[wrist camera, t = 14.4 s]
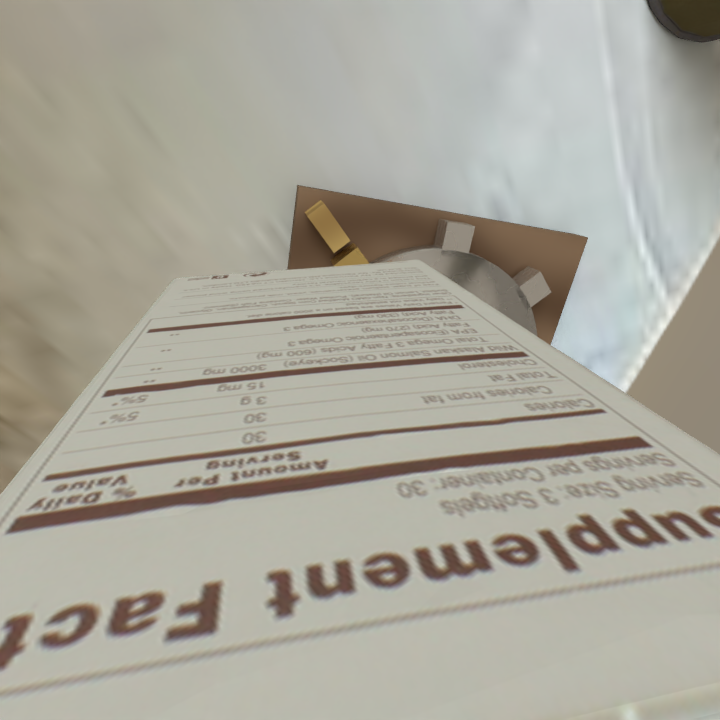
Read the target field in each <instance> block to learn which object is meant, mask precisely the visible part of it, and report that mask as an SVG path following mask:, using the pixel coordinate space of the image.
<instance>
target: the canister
mask: <svg viewBox="0 0 720 720" xmlns="http://www.w3.org/2000/svg"><path fill="white" fill-rule="evenodd" d="M648 1H649V4H650V7H651V9H652V11H653V12H654V14H655V15H656V17H657V18H658V20H659V21H660V22H661V24H663V25H664V26H665V27H666V28H668V29H669V30H670V31H671V32H672V33H674V34H675V35H676V36H677V37H679V38H682V39H686V40H691V41H697V42H707V41H713V40H717V39H720V0H648Z"/></svg>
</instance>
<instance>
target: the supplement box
mask: <svg viewBox="0 0 720 720" xmlns="http://www.w3.org/2000/svg"><path fill="white" fill-rule="evenodd" d="M0 720H720V454H718V453H716V452H715V451H714V450H712V449H711V448H709V447H708V446H706V445H704V444H703V443H701V442H699V441H698V440H696V439H695V438H693V437H691V436H690V435H688V434H687V433H685V432H684V431H682V430H681V429H679V428H678V427H676V426H675V425H673V424H672V423H670V422H669V421H667V420H666V419H664V418H662V417H661V416H659V415H658V414H656V413H655V412H653V411H652V410H650V409H648V408H647V407H646V406H644V405H643V404H641V403H639V402H638V401H636V400H635V399H633V398H632V397H630V396H629V395H627V394H626V393H624V392H623V391H621V390H620V389H618V388H617V387H615V386H614V385H612V384H610V383H609V382H607V381H606V380H604V379H603V378H601V377H599V376H598V375H596V374H595V373H593V372H592V371H590V370H589V369H587V368H586V367H584V366H582V365H581V364H579V363H578V362H576V361H575V360H573V359H572V358H570V357H569V356H567V355H565V354H564V353H562V352H561V351H559V350H557V349H556V348H554V347H552V346H551V345H549V344H548V343H546V342H545V341H543V340H542V339H540V338H539V337H537V336H536V335H534V334H533V333H531V332H530V331H528V330H527V329H525V328H523V327H522V326H520V325H519V324H517V323H516V322H514V321H513V320H511V319H510V318H508V317H507V316H505V315H504V314H502V313H501V312H499V311H498V310H496V309H495V308H493V307H491V306H490V305H488V304H487V303H485V302H483V301H482V300H481V299H479V298H478V297H477V296H475V295H474V294H472V293H470V292H468V291H467V290H465V289H464V288H462V287H461V286H459V285H458V284H456V283H455V282H453V281H452V280H451V279H449V278H447V277H446V276H444V275H443V274H441V273H440V272H438V271H437V270H435V269H433V268H432V267H430V266H429V265H427V264H426V263H424V262H422V261H420V260H408V261H398V262H385V263H373V264H360V265H347V266H333V267H320V268H306V269H293V270H279V271H264V272H249V273H238V274H224V275H212V276H196V277H183V278H175V279H174V280H173V281H172V282H171V283H170V284H169V285H168V287H167V288H166V289H165V290H164V292H163V293H162V294H161V295H160V297H159V298H158V299H157V300H156V301H155V303H154V304H153V305H152V306H151V307H150V309H149V310H148V311H147V313H146V314H145V315H144V316H143V318H142V319H141V320H140V321H139V323H138V324H137V325H136V326H135V327H134V329H133V330H132V331H131V333H130V334H129V335H128V336H127V337H126V338H125V339H124V341H123V342H122V343H121V345H120V346H119V347H118V348H117V350H116V351H115V352H114V353H113V355H112V356H111V357H110V359H109V360H108V361H107V362H106V364H105V365H104V366H103V368H102V369H101V370H100V371H99V372H98V373H97V375H96V376H95V377H94V379H93V380H92V381H91V382H90V384H89V385H88V386H87V387H86V389H85V390H84V391H83V392H82V393H81V395H80V396H79V397H78V398H77V399H76V401H75V402H74V403H73V405H72V406H71V407H70V409H69V410H68V411H67V413H66V414H65V415H64V416H63V417H62V418H61V420H60V421H59V422H58V423H57V425H56V426H55V428H54V429H53V430H52V431H51V433H50V434H49V435H48V436H47V438H46V439H45V440H44V441H43V443H42V444H41V445H40V446H39V448H38V449H37V450H36V451H35V452H34V454H33V455H32V456H31V457H30V459H29V460H28V461H27V462H26V464H25V465H24V466H23V467H22V469H21V470H20V471H19V472H18V474H17V475H16V476H15V477H14V479H13V480H12V481H11V482H10V484H9V485H8V486H7V487H6V489H5V490H4V491H3V492H2V494H1V495H0Z"/></svg>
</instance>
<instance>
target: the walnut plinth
mask: <svg viewBox="0 0 720 720" xmlns="http://www.w3.org/2000/svg"><path fill="white" fill-rule="evenodd" d="M439 219H444V220H450V221H457V222H463V223H467V224H470V225H473V226H475V229H474V233H473V238H472V242H471V246H470V250H469V252H470V253H473V254H475V255H477V256H479V257H481V258H483V259H485V260H487V261H489V262H491V263H493V264H494V265H496V266H498V267H499V268H500V269H502V270H503V271H504V272H505V273H507V274H508V275H509V276H510V277H511V278H513V277H514V276H515V275H517V274H518V273H519V272H521V271H522V270H524V269H525V268H526V267H528V266H529V267H532V268H534V269H536V270H538V271H540V272H541V273H542V275H543V277H544V279H545V281H546V283H547V285H548V287H549V289H550V290H551V293H550V294H549V295H547V296H546V297H544V298H543V299H542V300H540V301H539V302H537V303H536V304H535V305H533V306H532V307H531V309H532V312H533V315H534V319H535V323H536V330H537V337H539V338H540V339H542V340H543V341H545V342H546V343H548V344H549V345H550V344H551V342H552V339H553V336H554V333H555V330H556V327H557V325H558V322H559V319H560V316H561V313H562V310H563V307H564V305H565V302H566V299H567V296H568V293H569V290H570V288H571V285H572V282H573V279H574V276H575V273H576V270H577V268H578V265H579V262H580V259H581V256H582V253H583V251H584V248H585V245H586V242H587V239H588V238H587V237H584V236H580V235H576V234H571V233H565V232H560V231H554V230H548V229H543V228H537V227H531V226H526V225H520V224H514V223H509V222H503V221H497V220H492V219H486V218H480V217H475V216H469V215H464V214H458V213H452V212H447V211H441V210H435V209H430V208H424V207H418V206H413V205H407V204H401V203H396V202H390V201H384V200H379V199H373V198H367V197H362V196H356V195H350V194H345V193H339V192H333V191H328V190H322V189H316V188H311V187H305V186H299V185H297V193H296V202H295V210H294V219H293V227H292V235H291V244H290V252H289V261H288V269H287V270H293V269H306V268H320V267H333V266H334V265H333V264H332V262H331V259H333V258H334V257H335V256H336V255H338V254H339V253H340V252H342V251H343V250H344V249H345V248H347V247H348V246H349V245H351V244H352V243H354V244H355V245H356V246H357V247H358V248H359V250H360V251H361V253H362V254H363V255H364V257H365V258H366V260H367V261H368V262H371V261H373V260H375V259H377V258H379V257H381V256H383V255H385V254H388V253H391V252H394V251H397V250H400V249H404V248H409V247H414V246H424V245H434V240H435V236H436V231H437V226H438V222H439Z"/></svg>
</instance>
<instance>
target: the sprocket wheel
mask: <svg viewBox="0 0 720 720" xmlns="http://www.w3.org/2000/svg"><path fill="white" fill-rule="evenodd" d="M474 229H475V226H473V225H470V224H467V223H463V222H457V221H450V220H444V219H439V222H438V226H437V231H436V236H435V240H434V245H424V246H414V247H409V248H404V249H400V250H397V251H394V252H391V253H388V254H385V255H383V256H381V257H379V258H377V259H375V260H373V261H371V262H368V261H367V260H366V258H365V257H364V255H363V254H362V253H361V251H360V250H359V248H358V247H357V246H356V245H355V244H354V243H352V244H351V245H349V246H348V247H347V248H345V249H344V250H343V251H342V252H340V253H339V254H338V255H336V256H335V257H334V258H333V259H331V262H332V264H333V265H334V266H347V265H360V264H373V263H385V262H398V261H408V260H420V261H422V262H424V263H426V264H427V265H429V266H430V267H432V268H433V269H435V270H437V271H438V272H440V273H441V274H443V275H444V276H446V277H447V278H449V279H451V280H452V281H453V282H455V283H456V284H458V285H459V286H461V287H462V288H464V289H465V290H467V291H468V292H470V293H472V294H474V295H475V296H477V297H478V298H479V299H481V300H482V301H483V302H485V303H487V304H488V305H490V306H491V307H493V308H495V309H496V310H498V311H499V312H501V313H502V314H504V315H505V316H507V317H508V318H510V319H511V320H513V321H514V322H516V323H517V324H519V325H520V326H522V327H523V328H525V329H527V330H528V331H530V332H531V333H533V334H534V335H536V336H537V330H536V323H535V319H534V315H533V312H532V309H531V307H532V306H533V305H535V304H536V303H537V302H539V301H540V300H542V299H543V298H544V297H546V296H547V295H549V294H550V293H551V290H550V289H549V287H548V285H547V283H546V281H545V279H544V277H543V275H542V273H541V272H540V271H538V270H536V269H534V268H532V267H529V266H528V267H526V268H525V269H524V270H522V271H521V272H519V273H518V274H517V275H515V276H514V277H513V278H511V277H510V276H509V275H508V274H507V273H505V272H504V271H503V270H502V269H500V268H499V267H498V266H496V265H494V264H493V263H491V262H489V261H487V260H485V259H483V258H481V257H479V256H477V255H475V254H473V253H470V252H469V250H470V246H471V242H472V238H473V233H474Z"/></svg>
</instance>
